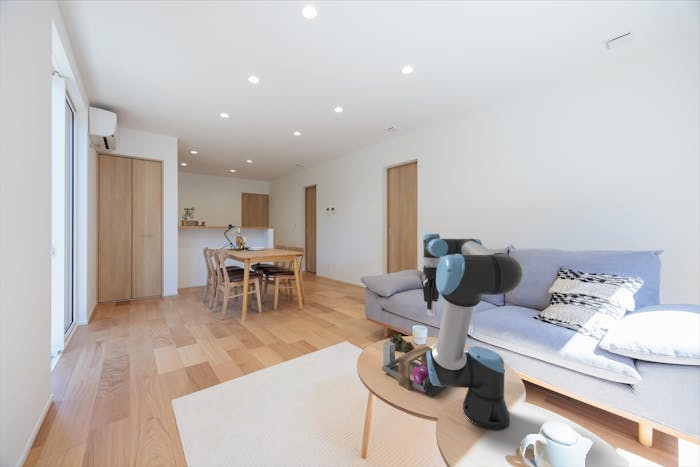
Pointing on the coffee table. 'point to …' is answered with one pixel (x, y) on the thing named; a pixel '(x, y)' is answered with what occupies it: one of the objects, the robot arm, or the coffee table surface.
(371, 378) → the coffee table surface
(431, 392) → the pit tray
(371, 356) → the coffee table surface
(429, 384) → the sled
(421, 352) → the tunnel
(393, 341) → the rock
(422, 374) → the puzzle toy
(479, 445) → the coffee table surface
